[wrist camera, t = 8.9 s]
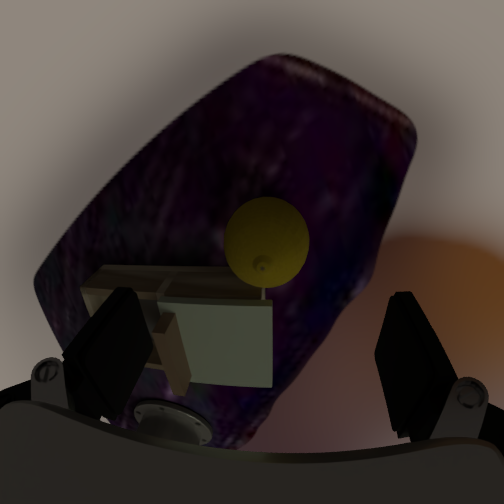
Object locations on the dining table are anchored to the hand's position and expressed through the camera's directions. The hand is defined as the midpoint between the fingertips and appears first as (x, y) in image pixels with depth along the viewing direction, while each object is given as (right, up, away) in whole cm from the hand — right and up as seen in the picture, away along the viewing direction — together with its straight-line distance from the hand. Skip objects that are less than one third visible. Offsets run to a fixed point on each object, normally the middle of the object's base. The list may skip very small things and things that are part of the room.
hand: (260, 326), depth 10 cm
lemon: (+1, +5, +13) cm, 14 cm away
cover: (-3, -5, +12) cm, 13 cm away
